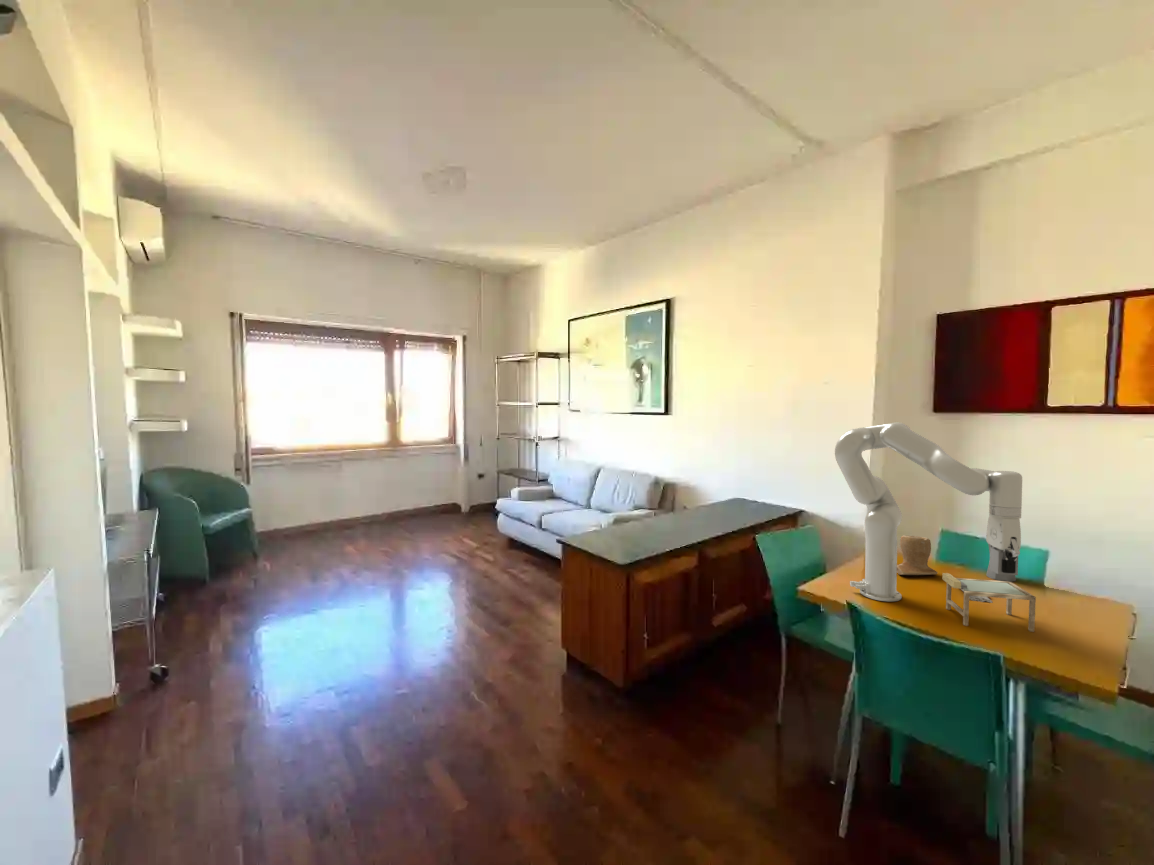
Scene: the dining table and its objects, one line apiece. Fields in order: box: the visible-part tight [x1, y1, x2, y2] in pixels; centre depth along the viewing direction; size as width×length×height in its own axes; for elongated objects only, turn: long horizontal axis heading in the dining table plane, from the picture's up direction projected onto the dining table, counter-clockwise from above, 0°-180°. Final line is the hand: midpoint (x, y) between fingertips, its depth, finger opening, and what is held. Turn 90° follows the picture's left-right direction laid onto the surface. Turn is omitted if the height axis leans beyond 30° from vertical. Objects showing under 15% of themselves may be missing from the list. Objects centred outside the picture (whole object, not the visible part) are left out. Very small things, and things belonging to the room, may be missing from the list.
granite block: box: [989, 547, 1019, 576], centre depth 154 cm, size 5×5×7 cm
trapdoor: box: [941, 572, 1025, 595], centre depth 156 cm, size 18×10×3 cm, turn 74°
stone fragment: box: [958, 588, 993, 604], centre depth 182 cm, size 25×3×10 cm
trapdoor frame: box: [945, 577, 1037, 633], centre depth 156 cm, size 18×13×10 cm
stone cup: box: [897, 535, 939, 576], centre depth 198 cm, size 15×12×15 cm
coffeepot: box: [986, 543, 1017, 583], centre depth 192 cm, size 15×9×18 cm, turn 118°
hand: (1003, 569), depth 154 cm, fingers closed on granite block, 5 cm apart
